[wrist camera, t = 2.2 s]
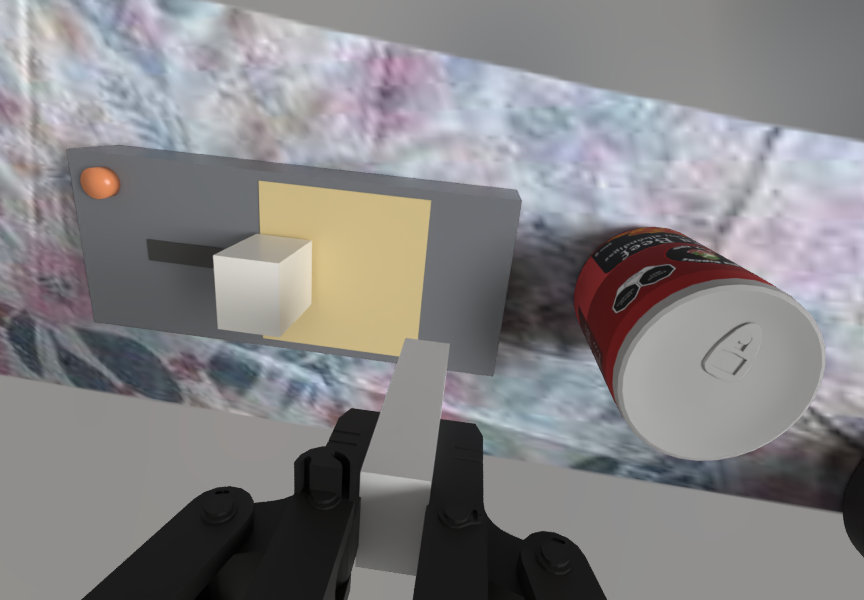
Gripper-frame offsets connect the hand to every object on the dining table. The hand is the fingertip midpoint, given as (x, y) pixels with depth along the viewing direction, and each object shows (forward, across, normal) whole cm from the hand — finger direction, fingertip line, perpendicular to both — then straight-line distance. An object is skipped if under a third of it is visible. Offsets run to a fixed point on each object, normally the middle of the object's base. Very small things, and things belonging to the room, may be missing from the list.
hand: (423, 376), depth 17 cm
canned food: (+14, -11, 0) cm, 18 cm away
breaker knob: (+10, +9, 0) cm, 13 cm away
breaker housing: (+14, +9, 0) cm, 17 cm away
